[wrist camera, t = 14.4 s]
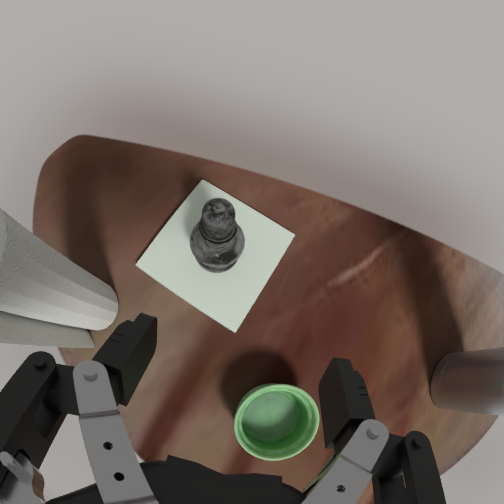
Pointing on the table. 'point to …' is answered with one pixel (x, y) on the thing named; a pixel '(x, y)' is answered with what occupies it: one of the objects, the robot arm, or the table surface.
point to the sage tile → (207, 283)
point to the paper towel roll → (47, 293)
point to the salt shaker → (217, 237)
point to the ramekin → (276, 421)
